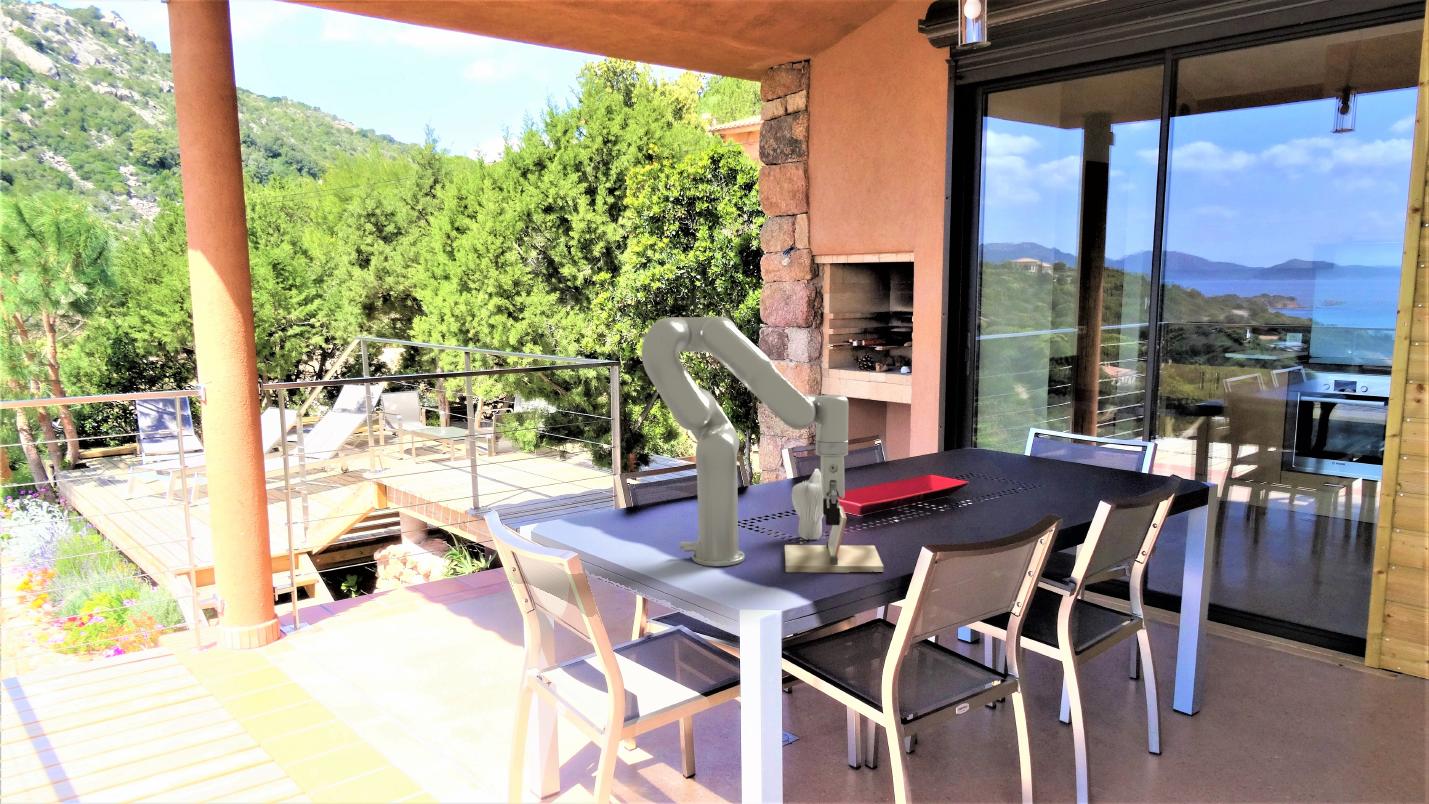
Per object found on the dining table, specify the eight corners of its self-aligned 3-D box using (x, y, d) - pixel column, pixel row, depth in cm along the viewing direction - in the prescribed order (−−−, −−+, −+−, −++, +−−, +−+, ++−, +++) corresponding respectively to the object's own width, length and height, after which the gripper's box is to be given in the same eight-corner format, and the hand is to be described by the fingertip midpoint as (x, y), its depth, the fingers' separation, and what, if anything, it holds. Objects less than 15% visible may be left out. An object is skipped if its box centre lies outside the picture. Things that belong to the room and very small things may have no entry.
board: (785, 571, 197) (785, 558, 196) (784, 550, 214) (784, 538, 213) (883, 572, 195) (883, 559, 195) (874, 551, 212) (874, 539, 212)
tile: (841, 517, 197) (846, 518, 197) (837, 505, 209) (842, 506, 209) (830, 560, 198) (835, 562, 198) (827, 546, 210) (832, 547, 210)
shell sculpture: (801, 544, 219) (801, 474, 217) (790, 535, 227) (790, 468, 225) (832, 541, 222) (832, 472, 220) (819, 533, 230) (819, 466, 228)
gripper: (851, 454, 193) (850, 529, 194) (844, 442, 210) (844, 511, 212) (817, 454, 193) (817, 528, 195) (813, 442, 210) (813, 510, 212)
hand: (831, 519), depth 203 cm, fingers open, 9 cm apart
